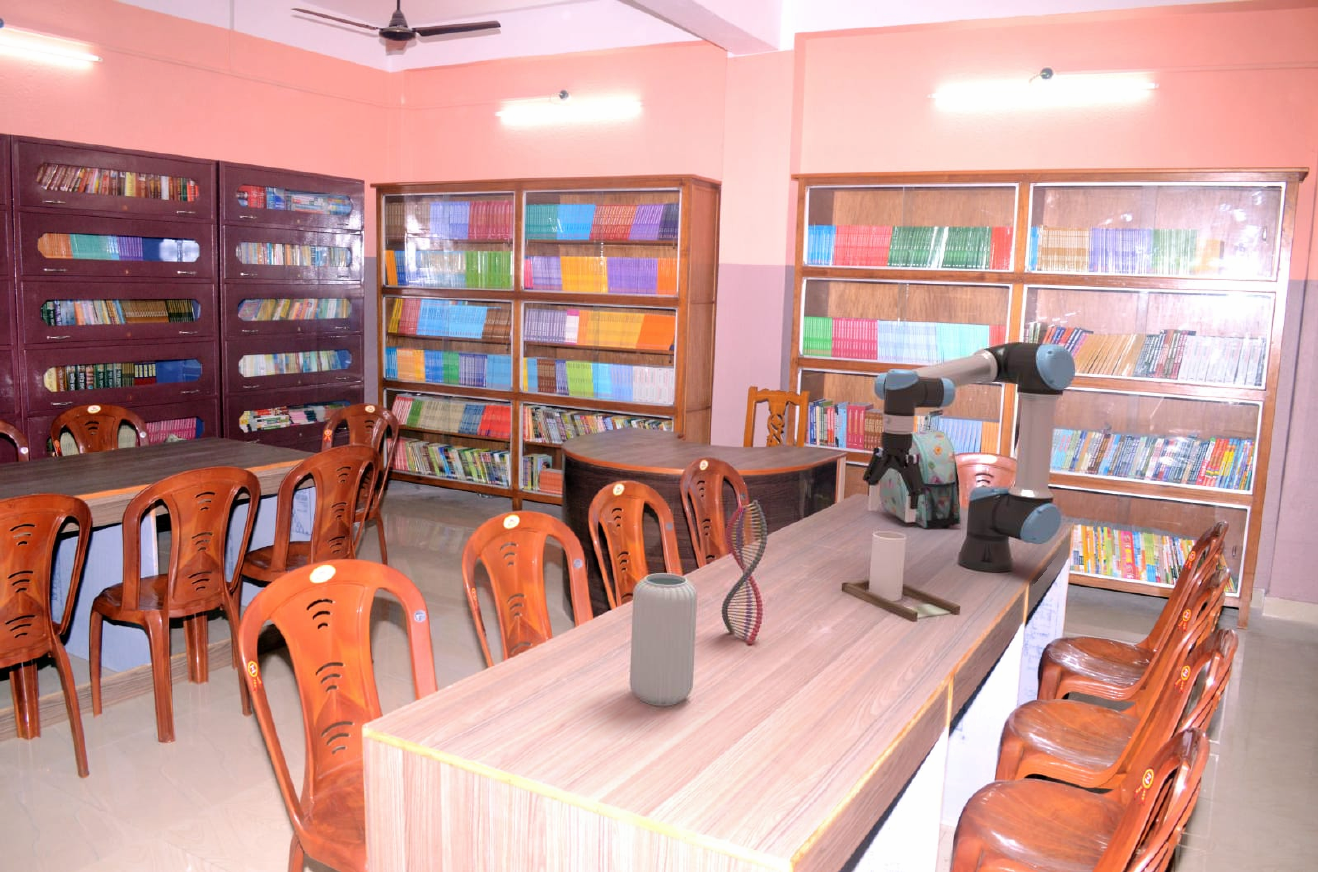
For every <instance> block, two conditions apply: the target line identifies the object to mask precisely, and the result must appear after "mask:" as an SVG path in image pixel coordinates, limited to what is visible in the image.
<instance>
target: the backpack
mask: <svg viewBox="0 0 1318 872" xmlns="http://www.w3.org/2000/svg"><path fill="white" fill-rule="evenodd" d="M911 434H912V435H913V440H912V448H910V449H909V455H918V456H919V466H920V470H921V474H922V478H923V482H924V486H925V490H926V494H924V495H920V496H919V499H918V508H917V509H916V517H915V522H914V523H915V524H917V525H919V526H920V527H922V528H924V529H926V528H927V529H928V528H932V529H933V528H940V529H941V528H942V529H948V528H950V527H953V526H955V525H959V524H961V522H962V519H961V518H962V517H961V512H960V509H961V507H960V505H961V503H960V482H959V481H960V480H959V474H958V468H957V462H956V461H957V460H956V452H955V448H954V446H953V444H952V442H951V440H950V438H949V436H948V435H947V434H946V433H945V432H944V431H942V430H937V429H932V430H925V431H912V432H911ZM882 459H883V458H882ZM879 483H880V489H879V498H880V502H881V506H882V508H883V509H884V510H885V511H886V512H888V513H890V514H892V515H894V516H896V517H897V518H899V519H900V520H902V521H904V522H905V511H906V499H907V495H908V494H909V492H908V490H907V488H906V485H905V483H904V481H903V479H902V477H901V474H900V473H899V472H898V471H897V470H894V469H892V468H889V469H888V470H887V472H886V473H885V474H884V475H883V477H882V478H881V479H880V481H879ZM919 490H920V489H919ZM913 491H914V490H913Z"/></svg>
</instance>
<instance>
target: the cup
mask: <svg viewBox="0 0 1318 872" xmlns="http://www.w3.org/2000/svg"><path fill="white" fill-rule="evenodd" d="M871 540H872V541H871V554H870V557H871V558H870V570H869V579H870V580H869V579H868V580H869V589H868V592H871V593H873V594H875V595H878V596H880V597H882V598H885V599H887V600H890V601H892V602H897V601H901V600H902V597H903V594H902V587H903V584H904V580H903V574H904V575H905V558H906V548H907V547H906V546H907V535H906V534H904V533H901V532H897V531H889V530H879V531H878V530H877V531H874V532H873V533H872V539H871Z"/></svg>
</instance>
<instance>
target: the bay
mask: <svg viewBox="0 0 1318 872" xmlns="http://www.w3.org/2000/svg"><path fill="white" fill-rule="evenodd" d="M869 580H870V578H869V579H864V580H854V581H847V582H842V583H841V591H842V592H845V593H846V594H849V595H851V596H853V597H855V598H858V599H861V600H863V601H865V602H867V603H870V604H871V605H873V606H876V607H878V608H881V609H883V610H885V611H888V612H890V613H892V614H894V615H897V616H899V617H901V618H904V619H906V620H908V621H910V622H917V621H918V620H919V619H925V618H926V619H927V618H931V617H938V616H945V615H950V614H951V615H954V616H956V615H960V612H961V610H960V609H961V606H960V605H958V604H955V603H953V602H951V601H948V600H946V599H944V598H940V597H938V596H936V595H933V594H931V593H927V592H925V591H923V590H921V589H918V588H915V587H914V586H910V585H908V584H905V583H903V587H902V595H905V596H907V597H910V598H912V599H916V600H918V601H920V602H922V603H924V604H918V605H911V606H903V605H902V604H899V603H896V602H895V601H890V600H887V599H885V598H882V597H880V596H878V595H875V594H873V593H871V592H869Z"/></svg>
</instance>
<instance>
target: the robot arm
mask: <svg viewBox="0 0 1318 872" xmlns="http://www.w3.org/2000/svg"><path fill="white" fill-rule="evenodd" d="M1075 375H1076V363H1075V359H1074V357H1073V355H1072V354H1071V353H1070V351H1069V350H1068V349H1067V348H1065V346H1061V345H1059V344H1053V343H1041V342H1040V343H1036V342H1022V341H1013V342H1007V343H1003V344H997V345H994V346H991V347H986V348H983V349H978V350H977V351H975V352H973V354H972V355H969V356H963V357H961V358H957V359H952V360H948V361H944V362H938V363H935V364H931V365H926V366H922V367H919V368H914V369H904V368H903V369H901V368H893V369H892V368H891V369H888V371H887V372H882V373H881V374H879V375H878V376H877V377H876V379H875V380H874V384H873V389H874V390H873V391H874V394H875V395H876V397H877V398H878V399H880V400H883V415H882V416H883V417H882V430H884V431H882V433H881V439H880V445H881V447H879V446H877V447H876V446H875V447H874V448H873V451H872V457H871V459H870V460H869V463H868V465H867V467H866V469H865V471H864V474H863V477H862V480H863V481H864V482H867V485H868V486H867V487H868V488H867V496H868V503H867V511H869V512H870V511H871V512H872V511H879V503H880V502H879V500H880V488H881V484H880V479H881V478H882V477H883V475H884V474H885V473H886V472H887V470H888V469H889V468H892V469H894V470H897V471H898V472H899V473H900V474H901V477H902V479H903V481H904V483H905V485H906V488H907V490H908V492H909V494H908V495H907V499H906V511H905V520H904V523H915V517H916V509H917V508H918V499H919V496H920V495H924V494H926V490H925V486H924V482H923V478H922V474H921V470H920V466H919V456H918V455H909V449H910V448H912V440H913V435H912V434H911V433H912V432H914V427H915V415H916V414H915V413H916V409H919V408H923V409H924V408H925V409H926V408H929V409H930V408H933V409H934V408H937V409H940V408H947V407H949V406H951V404H953V402H954V400H955V399H956V388H961V387H963V386H969V385H973V384H976V383H981V384H983V385H986V384H987V385H988V384H991V383H1003V384H1013V385H1017V387H1016V394H1018V396H1019V397H1020V398H1021V409H1020V410H1021V411H1020V420H1019V432H1018V433H1019V434H1018V443H1017V455H1016V467H1015V468H1016V469H1015V476H1014V477H1015V479H1014V486H1012V487H1008V486H1007V487H1006V486H977V487H974V488H972V489H971V490H970V493H969V498H968V499H969V500H968V508H967V522H966V537H965V539H964V541H963V543H962V546H961V549H960V551H959V552H958V555H957V564H958V565H960V566H962V567H965V568H967V569H971V570H975V571H980V572H988V573H1004V572H1005V573H1006V572H1009V571H1012V570H1013V569H1014V568H1013V567H1014V560H1013V557H1012V552H1011V547H1010V542H1009V541H1010V540H1009V538H1013V539H1016V540H1020V541H1022V542H1023V543H1027V544H1029V543H1030V544H1036V545H1043V544H1046V543H1048V542H1049V541H1050V540H1052V539H1053V537H1054V536H1055V535H1056V534H1057V533H1058V530H1059V529H1060V525H1061V523H1062V512H1061V510H1060V508H1059V507H1058V506H1057V505H1056V504H1054V493H1052V492H1051V490H1050V489H1049V482H1050V474H1051V473H1050V471H1051V463H1052V461H1051V460H1052V452H1053V451H1052V449H1053V438H1054V429H1055V420H1056V419H1055V418H1056V417H1055V416H1056V407H1057V406H1056V405H1057V401H1058V400H1059V399H1061V398H1062V397H1063V396H1064V389H1067V388H1068V387H1070V385H1072V382H1073V381H1074V379H1075ZM882 458H883V459H882ZM919 489H920V490H919ZM913 490H914V491H913Z"/></svg>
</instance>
